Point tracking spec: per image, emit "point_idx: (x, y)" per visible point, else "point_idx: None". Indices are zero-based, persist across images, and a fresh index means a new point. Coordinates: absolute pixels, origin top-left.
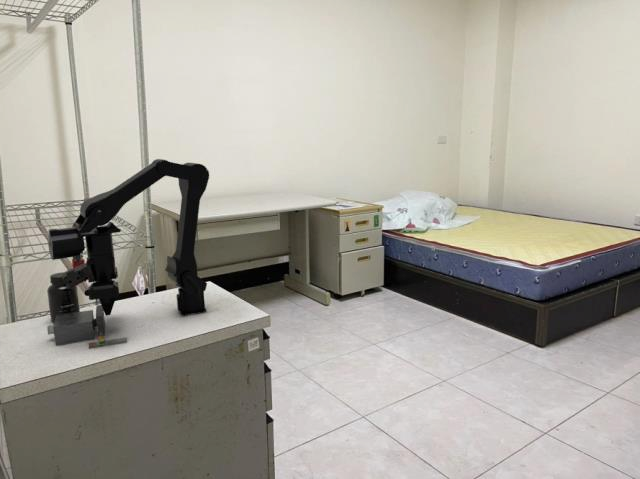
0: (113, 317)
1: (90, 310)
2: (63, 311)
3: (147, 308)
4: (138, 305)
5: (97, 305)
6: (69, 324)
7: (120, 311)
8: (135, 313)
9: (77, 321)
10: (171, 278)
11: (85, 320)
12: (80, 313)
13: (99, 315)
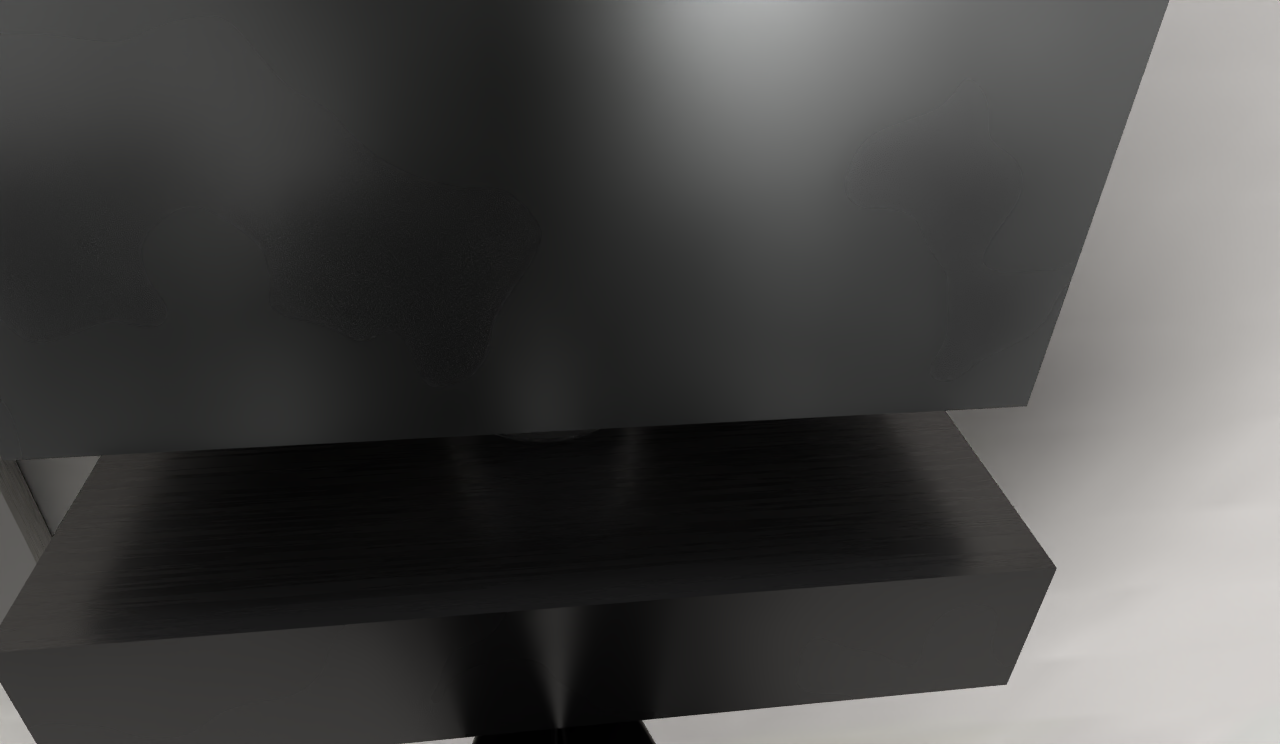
0: (1086, 441)
1: (1025, 353)
2: None
3: (1087, 738)
4: (1270, 663)
5: (1039, 589)
6: None
7: (1249, 507)
8: (1023, 654)
9: (80, 10)
10: None
11: (135, 283)
12: (951, 83)
13: (102, 715)
